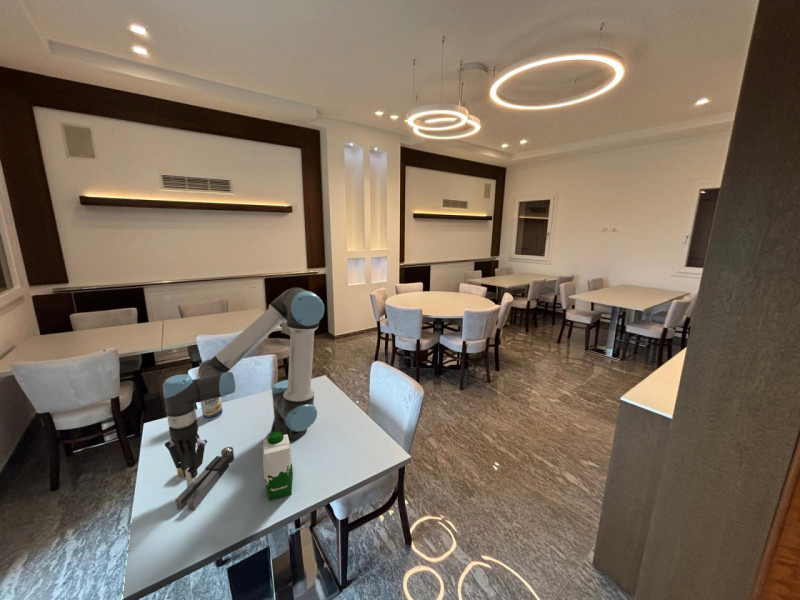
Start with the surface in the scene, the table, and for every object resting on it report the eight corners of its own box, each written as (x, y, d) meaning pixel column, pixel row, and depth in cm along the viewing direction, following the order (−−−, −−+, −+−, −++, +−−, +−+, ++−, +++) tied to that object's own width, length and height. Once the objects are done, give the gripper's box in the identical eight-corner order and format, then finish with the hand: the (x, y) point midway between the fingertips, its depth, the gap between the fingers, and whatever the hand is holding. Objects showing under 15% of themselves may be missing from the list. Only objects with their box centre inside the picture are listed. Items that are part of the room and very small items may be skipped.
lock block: (196, 468, 115) (194, 457, 114) (189, 477, 111) (187, 465, 110) (186, 468, 115) (184, 457, 114) (178, 476, 111) (176, 465, 110)
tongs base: (226, 456, 121) (224, 445, 120) (236, 456, 121) (235, 445, 120) (181, 509, 98) (179, 496, 97) (194, 510, 98) (192, 497, 97)
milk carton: (292, 477, 112) (288, 427, 107) (294, 496, 103) (290, 443, 99) (265, 484, 108) (260, 433, 104) (266, 505, 100) (260, 450, 96)
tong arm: (217, 465, 117) (216, 456, 116) (222, 465, 116) (221, 456, 116) (176, 508, 98) (175, 498, 97) (182, 509, 98) (180, 498, 97)
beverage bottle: (218, 408, 154) (213, 371, 150) (226, 414, 149) (221, 375, 145) (199, 416, 148) (194, 377, 143) (207, 422, 143) (202, 382, 139)
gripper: (154, 428, 97) (165, 493, 102) (194, 430, 97) (203, 494, 101) (172, 415, 104) (181, 475, 109) (210, 416, 104) (217, 477, 109)
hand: (192, 484), depth 105 cm, fingers closed
